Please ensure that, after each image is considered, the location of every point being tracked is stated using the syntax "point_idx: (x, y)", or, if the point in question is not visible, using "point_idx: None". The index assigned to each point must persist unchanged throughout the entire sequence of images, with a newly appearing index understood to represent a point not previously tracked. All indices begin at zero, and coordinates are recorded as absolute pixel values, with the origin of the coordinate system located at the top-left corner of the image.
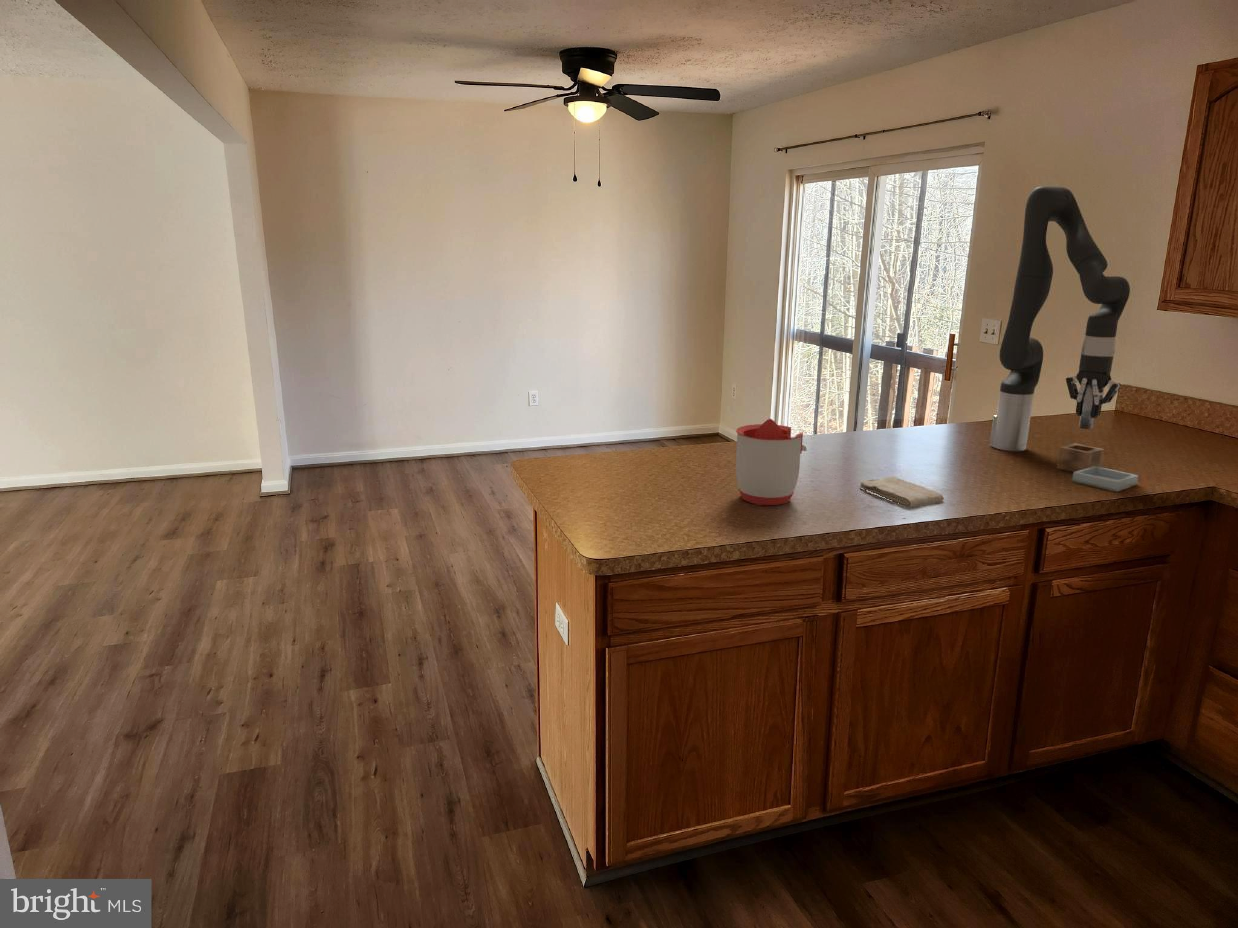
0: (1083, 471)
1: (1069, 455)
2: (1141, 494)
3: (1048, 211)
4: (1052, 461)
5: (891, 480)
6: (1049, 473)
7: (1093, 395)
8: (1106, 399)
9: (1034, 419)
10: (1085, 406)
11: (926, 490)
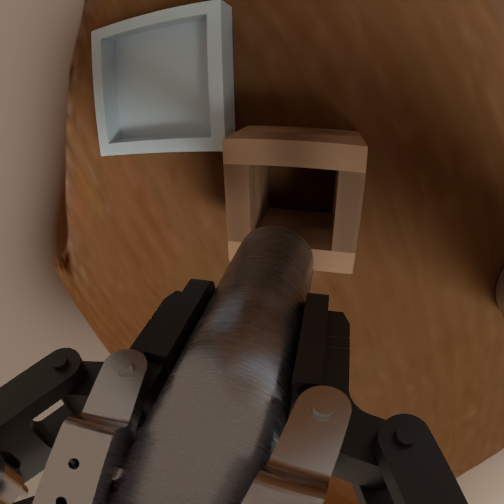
0: (207, 41)
1: (315, 136)
2: (74, 74)
3: None
4: (405, 216)
5: None
6: (336, 36)
7: (115, 431)
8: (35, 372)
9: (468, 466)
10: (237, 335)
11: None
